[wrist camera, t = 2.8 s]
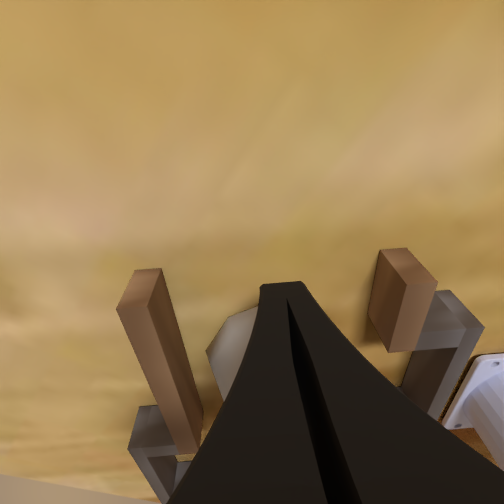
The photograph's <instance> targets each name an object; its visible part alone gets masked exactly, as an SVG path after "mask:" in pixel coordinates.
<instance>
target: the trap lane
mask: <svg viewBox="0 0 504 504" xmlns="http://www.w3.org/2000/svg"><path fill="white" fill-rule="evenodd" d="M437 284H438V281H437V280H436V279H435V278H434V277H433V276H432V275H431V274H430V273H429V272H428V271H427V270H426V268H425V267H424V266H423V265H422V264H421V263H420V262H419V261H418V260H417V259H416V258H415V257H414V255H413V254H412V253H411V252H410V251H409V250H408V249H407V248H398V249H386V250H380V253H379V258H378V264H377V269H376V274H375V279H374V284H373V289H372V294H371V299H370V304H369V309H368V315H369V317H370V319H371V321H372V323H373V325H374V327H375V329H376V331H377V333H378V334H379V336H380V338H381V340H382V342H383V344H384V346H385V348H386V350H387V352H388V353H392V352H404V351H413V354H412V356H411V359H410V362H409V365H408V368H407V371H406V374H405V377H404V380H403V382H402V385H401V387H397V388H398V389H399V390H400V391H401V392H402V393H403V394H405V395H406V396H407V397H408V398H409V399H410V400H411V401H413V402H414V403H415V404H416V405H417V406H419V407H420V408H421V409H422V410H424V411H425V412H426V413H428V414H429V415H430V416H431V417H433V418H434V419H435V420H436V421H437V420H438V418H439V416H440V414H441V412H442V410H443V408H444V406H445V404H446V402H447V400H448V398H449V396H450V394H451V392H452V390H453V388H454V386H455V385H456V383H457V381H458V379H459V377H460V375H461V373H462V371H463V369H464V367H465V365H466V363H467V361H468V359H469V357H470V355H471V353H472V351H473V349H474V347H475V345H476V343H477V342H478V340H479V338H480V336H481V334H482V332H483V330H484V328H485V327H484V326H483V325H482V324H481V323H480V322H479V321H478V319H477V318H476V317H475V316H474V315H473V314H472V313H471V312H470V311H469V310H468V309H467V308H466V307H465V306H464V305H463V304H462V302H461V301H460V300H459V299H458V298H457V297H456V296H455V295H454V294H453V293H452V292H451V291H450V290H444V291H435V290H436V287H437ZM116 310H117V313H118V315H119V317H120V320H121V322H122V324H123V326H124V329H125V331H126V333H127V336H128V338H129V340H130V342H131V345H132V347H133V349H134V352H135V354H136V356H137V358H138V361H139V363H140V365H141V368H142V370H143V372H144V374H145V377H146V379H147V381H148V384H149V386H150V388H151V390H152V393H153V395H154V397H155V400H156V402H157V404H158V405H155V406H143V407H139V410H138V413H137V417H136V420H135V424H134V428H133V431H132V435H131V438H130V442H129V445H128V451H129V452H130V454H131V455H132V457H133V459H134V460H135V462H136V463H137V465H138V467H139V468H140V470H141V471H142V473H143V474H144V476H145V478H146V479H147V481H148V482H149V484H150V486H151V487H152V489H153V490H154V492H155V494H156V495H157V497H158V498H159V500H160V502H161V503H162V504H166V503H167V501H168V500H169V498H170V497H171V495H172V494H173V492H174V491H175V489H176V487H177V486H178V484H179V482H180V481H181V479H182V478H183V476H184V474H185V472H186V471H187V469H188V467H189V466H190V464H191V462H192V461H188V462H177V460H176V458H175V456H174V455H180V454H192V453H197V452H198V450H199V448H200V441H201V430H202V420H203V409H202V406H201V402H200V399H199V396H198V392H197V389H196V385H195V382H194V379H193V375H192V372H191V368H190V365H189V361H188V358H187V355H186V351H185V348H184V344H183V341H182V338H181V334H180V331H179V327H178V324H177V321H176V317H175V314H174V310H173V307H172V304H171V300H170V297H169V293H168V290H167V287H166V283H165V280H164V276H163V273H162V270H161V268H158V269H146V270H135V271H134V273H133V275H132V277H131V279H130V281H129V283H128V285H127V287H126V289H125V291H124V294H123V296H122V298H121V300H120V302H119V304H118V306H117V308H116Z"/></svg>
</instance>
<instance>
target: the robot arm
mask: <svg viewBox="0 0 504 504" xmlns="http://www.w3.org/2000/svg"><path fill="white" fill-rule="evenodd" d="M462 428H474V429H475V430H476V432H477V434H478V435H479V437H480V438H481V440H482V441H483V443H484V444H485V446H486V447H487V449H488V450H489V452H490V453H491V455H492V457H493V458H494V460H495V461H496V463H497V464H498V466H499V467H500V468H499V467H497V466H496V465H494V464H493V463H492V462H490V461H489V460H488V459H486V458H485V457H483V456H482V455H481V454H479V453H478V452H477V451H475V450H474V449H473V448H471V447H470V446H469V445H467V444H466V443H464V442H463V441H462V440H460V439H459V438H458V437H456V436H455V435H454V434H453V433H451V432H450V431H449V430H450V429H462ZM166 504H504V353H501V354H488V355H481V356H479V357H477V358H476V359H475V360H474V362H473V364H472V366H471V368H470V369H469V371H468V373H467V375H466V377H465V379H464V381H463V383H462V385H461V386H460V388H459V390H458V392H457V394H456V396H455V398H454V400H453V401H452V403H451V405H450V407H449V409H448V411H447V413H446V415H445V417H444V418H443V420H442V425H441V424H440V423H439V422H438V421H436V420H435V419H434V418H433V417H431V416H430V415H429V414H428V413H426V412H425V411H424V410H422V409H421V408H420V407H419V406H417V405H416V404H415V403H414V402H413V401H411V400H410V399H409V398H408V397H407V396H406V395H405V394H403V393H402V392H401V391H400V390H399V389H398V388H397V387H395V386H394V385H393V384H392V383H391V382H390V381H389V380H388V379H387V378H385V377H384V376H383V375H382V374H381V373H380V372H379V371H378V370H377V369H376V368H375V367H374V366H373V365H372V364H371V363H370V362H369V361H368V360H367V359H366V358H365V357H364V356H363V355H362V354H361V353H360V352H359V351H358V350H357V349H356V348H355V347H354V346H353V345H352V344H351V343H350V342H349V340H348V339H347V338H346V337H345V336H344V335H343V334H342V333H341V331H340V330H339V329H338V328H337V327H336V325H335V324H334V323H333V322H332V321H331V320H330V318H329V317H328V316H327V315H326V313H325V312H324V311H323V310H322V308H321V307H320V306H319V304H318V303H317V302H316V300H315V299H314V298H313V296H312V295H311V293H310V292H309V290H308V289H307V287H306V286H305V284H304V283H303V282H301V281H295V282H283V283H270V284H263V285H261V286H260V297H259V305H258V310H257V314H256V318H255V322H254V326H253V329H252V333H251V336H250V339H249V342H248V345H247V348H246V351H245V354H244V356H243V359H242V362H241V365H240V367H239V369H238V372H237V374H236V377H235V379H234V381H233V384H232V386H231V388H230V390H229V393H228V395H227V397H226V399H225V401H224V403H223V405H222V407H221V409H220V411H219V413H218V415H217V417H216V419H215V421H214V423H213V425H212V427H211V429H210V430H209V432H208V434H207V436H206V438H205V440H204V441H203V443H202V445H201V446H200V448H199V450H198V452H197V453H196V455H195V457H194V459H193V460H192V462H191V464H190V466H189V467H188V469H187V471H186V472H185V474H184V476H183V478H182V479H181V481H180V482H179V484H178V486H177V487H176V489H175V491H174V492H173V494H172V495H171V497H170V498H169V500H168V501H167V503H166Z"/></svg>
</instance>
